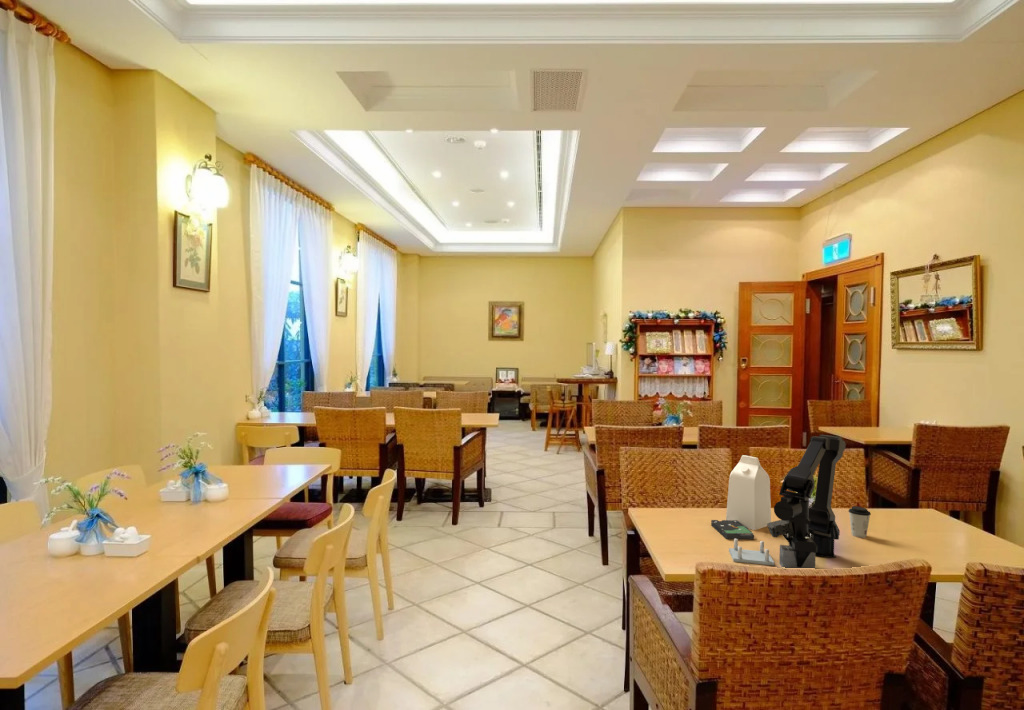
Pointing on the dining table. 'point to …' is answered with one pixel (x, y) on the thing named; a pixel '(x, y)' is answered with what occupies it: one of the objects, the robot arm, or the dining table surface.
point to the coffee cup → (859, 521)
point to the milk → (749, 494)
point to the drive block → (794, 558)
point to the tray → (751, 555)
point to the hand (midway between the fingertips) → (797, 563)
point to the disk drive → (732, 529)
